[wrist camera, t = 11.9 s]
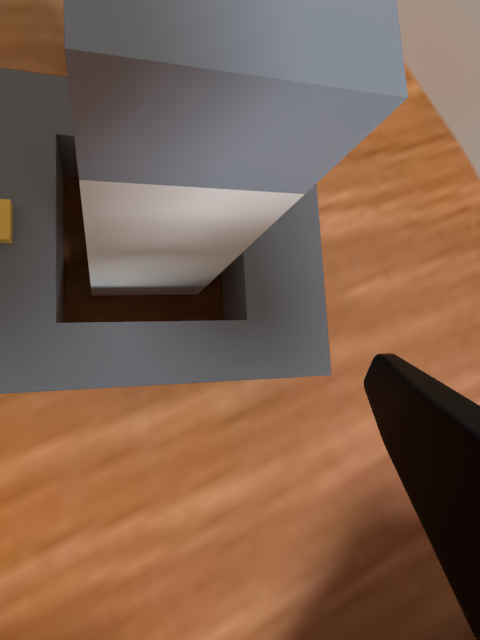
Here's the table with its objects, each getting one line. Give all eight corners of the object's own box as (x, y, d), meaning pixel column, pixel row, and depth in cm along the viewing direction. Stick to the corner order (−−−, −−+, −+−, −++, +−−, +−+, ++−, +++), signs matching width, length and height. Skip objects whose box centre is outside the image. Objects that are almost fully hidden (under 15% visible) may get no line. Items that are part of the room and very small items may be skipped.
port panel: (296, 376, 19) (336, 374, 15) (-32, 394, 15) (-68, 397, 12) (280, 149, 20) (315, 104, 17) (-25, 116, 16) (-57, 51, 13)
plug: (197, 294, 18) (407, 97, 6) (91, 295, 17) (64, 47, 4) (193, 217, 18) (381, -127, 6) (89, 213, 17) (59, -226, 5)
